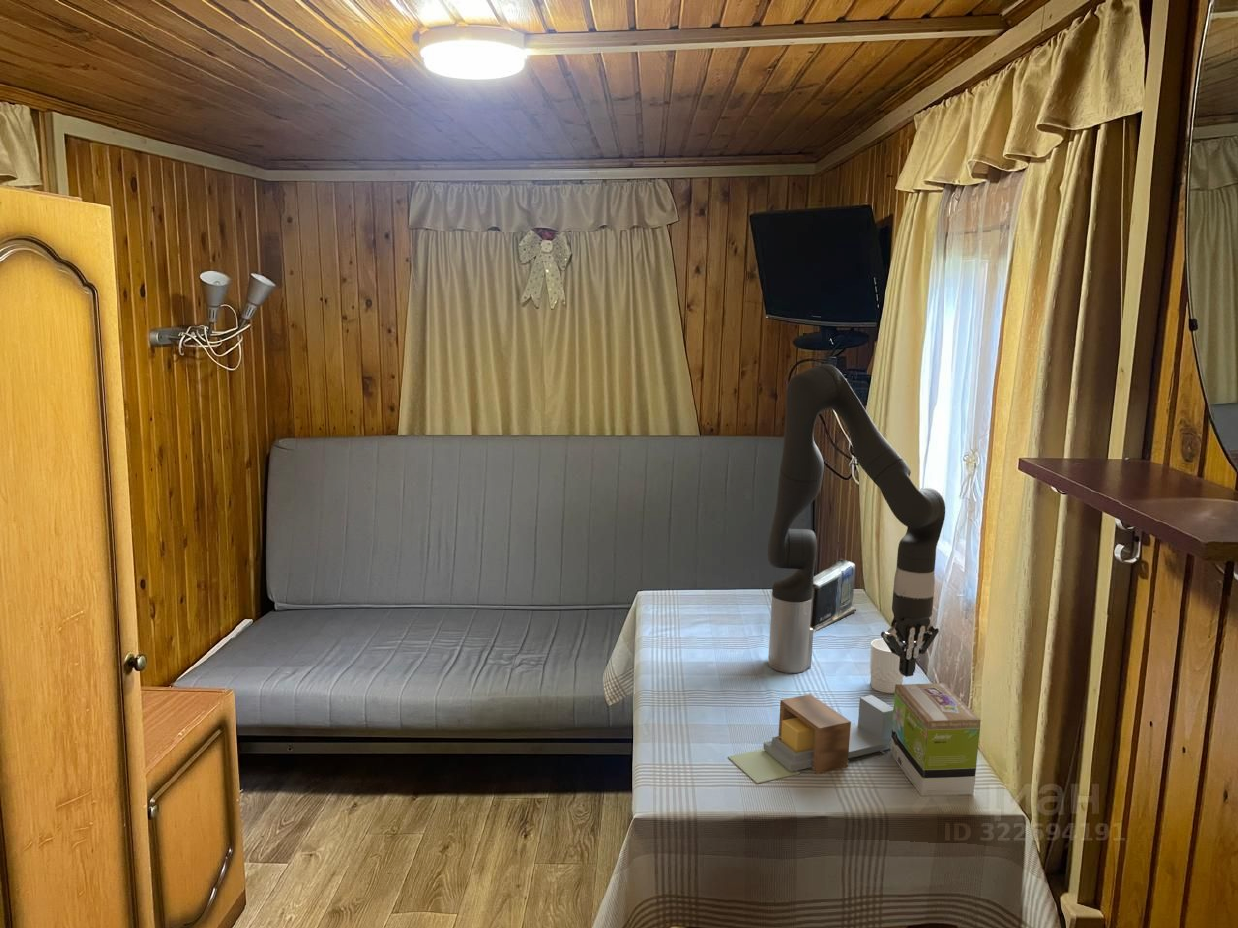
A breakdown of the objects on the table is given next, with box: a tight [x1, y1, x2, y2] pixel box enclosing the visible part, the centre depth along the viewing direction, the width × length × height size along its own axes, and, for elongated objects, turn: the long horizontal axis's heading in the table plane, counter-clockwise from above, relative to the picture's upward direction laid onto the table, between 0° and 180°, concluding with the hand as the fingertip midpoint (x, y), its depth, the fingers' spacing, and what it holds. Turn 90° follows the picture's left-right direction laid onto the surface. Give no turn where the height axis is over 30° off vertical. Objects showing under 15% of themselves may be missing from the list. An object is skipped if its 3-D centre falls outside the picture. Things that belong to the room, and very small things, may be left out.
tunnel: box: [778, 694, 852, 775], centre depth 168 cm, size 7×12×9 cm, turn 24°
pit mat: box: [848, 751, 885, 763], centre depth 172 cm, size 8×10×1 cm
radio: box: [810, 558, 857, 634], centre depth 240 cm, size 23×9×15 cm, turn 131°
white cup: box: [869, 638, 905, 694], centre depth 198 cm, size 8×8×10 cm
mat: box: [727, 748, 800, 785], centre depth 164 cm, size 9×10×1 cm
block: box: [781, 717, 815, 753], centre depth 167 cm, size 5×5×5 cm
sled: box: [762, 694, 894, 772], centre depth 170 cm, size 24×9×7 cm, turn 114°
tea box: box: [889, 682, 982, 797], centre depth 161 cm, size 15×10×15 cm, turn 5°
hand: (906, 674), depth 175 cm, fingers closed
